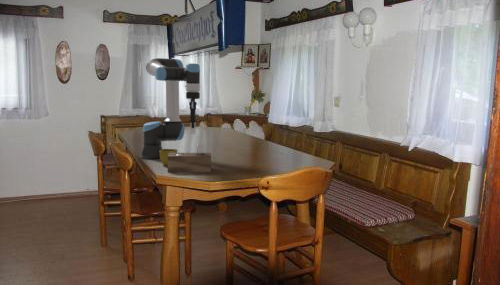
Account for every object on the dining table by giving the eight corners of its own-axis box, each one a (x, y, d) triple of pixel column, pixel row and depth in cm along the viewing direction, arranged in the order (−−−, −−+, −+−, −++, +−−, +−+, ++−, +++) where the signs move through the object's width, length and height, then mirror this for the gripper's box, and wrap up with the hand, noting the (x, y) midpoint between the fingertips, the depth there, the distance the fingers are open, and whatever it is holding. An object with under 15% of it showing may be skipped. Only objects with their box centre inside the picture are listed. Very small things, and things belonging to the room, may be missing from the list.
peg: (196, 159, 240) (196, 143, 239) (203, 159, 241) (203, 143, 240) (196, 160, 236) (196, 144, 235) (203, 160, 237) (203, 144, 236)
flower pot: (158, 165, 249) (158, 150, 248) (163, 162, 258) (163, 148, 256) (173, 166, 248) (173, 151, 247) (177, 163, 256) (177, 149, 255)
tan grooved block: (169, 167, 243) (169, 152, 242) (210, 167, 246) (210, 152, 245) (167, 172, 231) (167, 156, 230) (211, 172, 234) (211, 156, 233)
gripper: (186, 91, 238) (186, 132, 241) (185, 91, 226) (185, 134, 229) (200, 91, 239) (199, 132, 242) (199, 91, 226) (199, 135, 229)
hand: (192, 133), depth 235 cm, fingers closed
